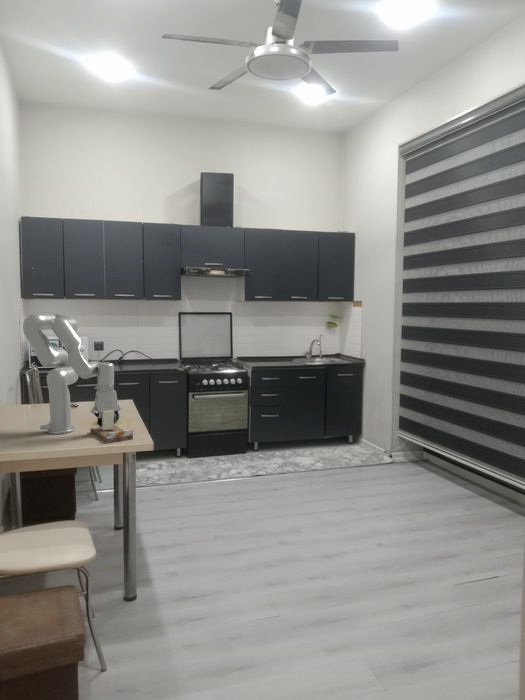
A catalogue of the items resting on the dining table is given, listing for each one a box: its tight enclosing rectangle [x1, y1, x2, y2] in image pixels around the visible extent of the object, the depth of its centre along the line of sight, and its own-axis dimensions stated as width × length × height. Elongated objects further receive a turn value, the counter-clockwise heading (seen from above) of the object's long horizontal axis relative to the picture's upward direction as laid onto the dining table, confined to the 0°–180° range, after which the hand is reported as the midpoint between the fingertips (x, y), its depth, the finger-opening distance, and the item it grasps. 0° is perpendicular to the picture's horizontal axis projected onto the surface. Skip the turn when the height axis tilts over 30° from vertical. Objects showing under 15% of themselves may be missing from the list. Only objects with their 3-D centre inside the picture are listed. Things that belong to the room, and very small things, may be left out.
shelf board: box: [90, 424, 134, 444], centre depth 245 cm, size 12×24×4 cm, turn 36°
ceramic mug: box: [114, 411, 121, 424], centre depth 273 cm, size 11×8×8 cm
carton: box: [97, 410, 115, 430], centre depth 248 cm, size 5×7×9 cm
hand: (106, 424), depth 249 cm, fingers closed on carton, 5 cm apart
